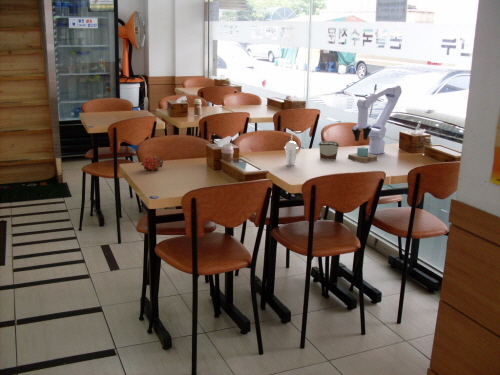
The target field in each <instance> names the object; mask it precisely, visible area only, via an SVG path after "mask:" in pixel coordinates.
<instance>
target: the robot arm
mask: <svg viewBox="0 0 500 375" xmlns="http://www.w3.org/2000/svg"><path fill="white" fill-rule="evenodd" d="M401 87H402V86H400V85H396V84H389V83H387V84H385V85H383V87H382V88H380V89H379V90H378V91H376V92H370V93H369V94H368V95H366V96H364V97H360V98H359V99H358V100H357V102H356V106H357V110H358V112H357V113H358V115H357V124H355V125H353V126H352V129H351V131H352V134H353V135H354V141H355V142H359V141H360V135H361V132H363V133H362V134H363V140H365V141H367V140H368V139H369V145H368V154H371V155H378V154H379V155H380V154H385V143H386V142H385V140H384V138H385V136H386V133H387V128H386V124H387V122H388V121H389V118H390V117H391V115H392V114H393V111H394V109H395V107H396V105H397V103H398V100H399V98H400V97H401V95H402V93H403V92H402V88H401ZM383 96H385V99H386V100H387V102H386V103H385V105H384V107H383V109H382V111H381V113H380V115H379V117H378V118H377V121H376V122H375V123H373V124H369V123H368V118H369V116H368V114H369V109H370V108H371V106H372V104H375V103H376V102H378V101H379V99H380V98H381V97H383ZM361 129H362V130H361Z"/></svg>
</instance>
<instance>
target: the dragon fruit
mask: <svg viewBox="0 0 500 375" xmlns="http://www.w3.org/2000/svg"><path fill="white" fill-rule="evenodd" d="M163 163H164V161H163V159H162V158H161V157H158V156H157V155H153V156H152V155H150V156H148V157H146V158H145V159H144V160H143V161H142V162H141V163H140V166H143V169H144V170H145V171H146V170H147V171H152V172H154V171H158V170H159V168H162V167H163V165H164V164H163Z"/></svg>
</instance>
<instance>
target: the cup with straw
mask: <svg viewBox="0 0 500 375" xmlns="http://www.w3.org/2000/svg"><path fill="white" fill-rule="evenodd" d="M298 133H302V130H300V131H299V130H297V131H291V136H290V141H287V142H286V143H285V146H283V149H284V151H285V159H286V160H285V162H286V166H287V165H294V166H295V165H296V159H297V154H298V150H299V149H300V147H299V145H298V143H297V142H295V141H293V134H298Z"/></svg>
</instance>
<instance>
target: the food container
mask: <svg viewBox="0 0 500 375" xmlns="http://www.w3.org/2000/svg"><path fill="white" fill-rule="evenodd" d="M318 146H319V158H320V160H327V161H328V160H329V161H330V160H332V161H335V160H336V161H337V155H338V151H339V147H340V143H339V142H338V141H334V140H333V141H331V140H324V141H323V140H321V141H320V142H319V143H318Z"/></svg>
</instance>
